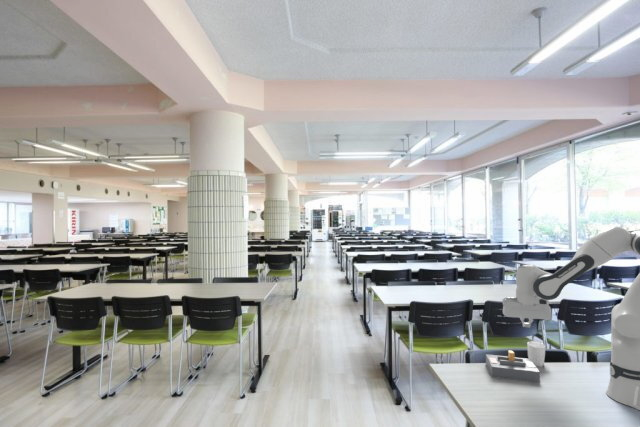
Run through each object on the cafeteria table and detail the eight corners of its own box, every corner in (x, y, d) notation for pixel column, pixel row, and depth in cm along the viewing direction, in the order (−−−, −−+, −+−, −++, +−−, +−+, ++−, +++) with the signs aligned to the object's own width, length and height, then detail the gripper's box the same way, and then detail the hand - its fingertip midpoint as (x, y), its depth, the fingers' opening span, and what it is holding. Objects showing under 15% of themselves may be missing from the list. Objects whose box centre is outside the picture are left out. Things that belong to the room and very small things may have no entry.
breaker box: (529, 368, 166) (529, 355, 166) (539, 382, 153) (539, 368, 153) (485, 363, 172) (485, 351, 172) (492, 377, 158) (492, 363, 158)
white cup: (530, 358, 177) (530, 340, 177) (547, 364, 171) (547, 344, 171) (524, 363, 172) (524, 344, 172) (542, 368, 166) (542, 348, 166)
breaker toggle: (512, 360, 164) (512, 350, 163) (514, 363, 161) (514, 353, 161) (508, 360, 164) (508, 350, 164) (509, 363, 161) (509, 352, 161)
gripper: (504, 298, 160) (504, 327, 160) (553, 301, 154) (553, 331, 155) (500, 295, 166) (500, 322, 166) (547, 297, 161) (547, 326, 161)
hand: (526, 326), depth 160 cm, fingers closed
